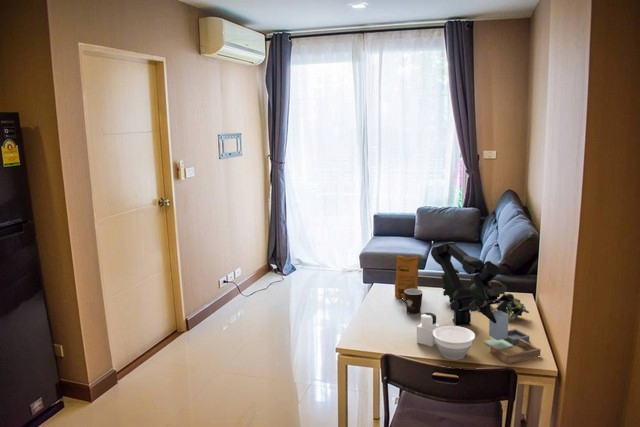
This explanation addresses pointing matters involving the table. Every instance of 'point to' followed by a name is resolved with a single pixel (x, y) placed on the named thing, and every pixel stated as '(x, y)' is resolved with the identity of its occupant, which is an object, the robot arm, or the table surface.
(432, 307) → the table surface
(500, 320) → the block
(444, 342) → the bowl
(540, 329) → the table surface
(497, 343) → the pad
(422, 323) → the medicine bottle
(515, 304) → the green leafy cluster
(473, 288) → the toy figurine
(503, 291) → the robot arm
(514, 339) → the trap tray
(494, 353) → the brown wooden tray
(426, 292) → the table surface
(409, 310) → the coffee mug
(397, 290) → the coffee package
